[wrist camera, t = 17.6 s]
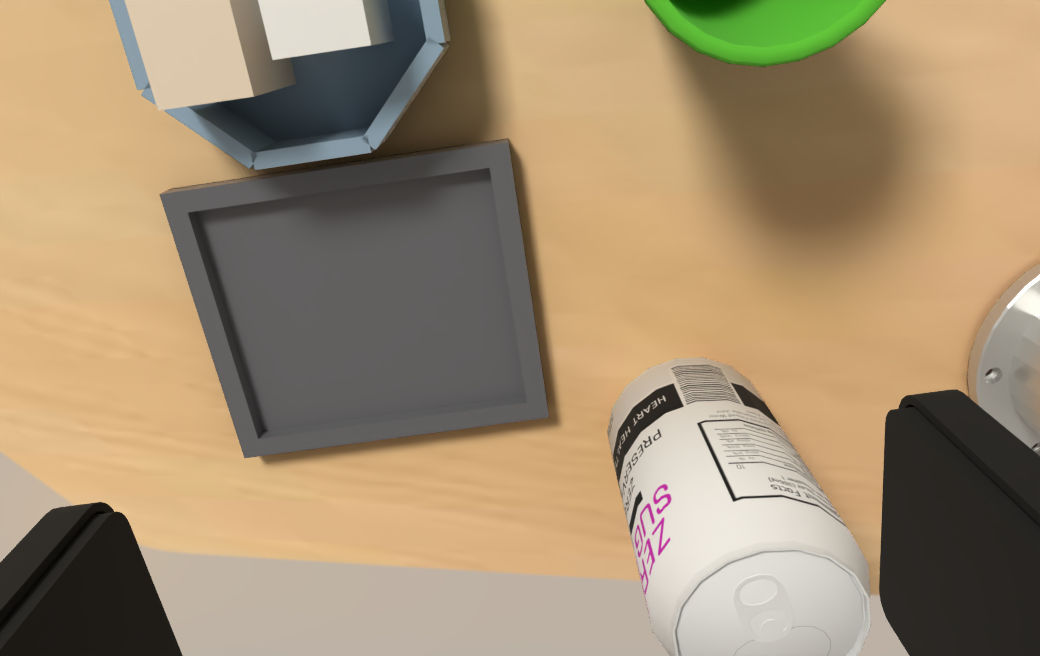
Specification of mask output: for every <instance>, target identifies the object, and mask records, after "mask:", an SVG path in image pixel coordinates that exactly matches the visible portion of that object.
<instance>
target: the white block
mask: <svg viewBox="0 0 1040 656" xmlns="http://www.w3.org/2000/svg"><path fill="white" fill-rule="evenodd" d="M258 3H259V7H260V11H261V15H262V19H263V23H264V27H265V31H266V35H267V39H268V44H269V48H270V52H271V56H272V60H276V59H283V58H290V57H296V56H303V55H310V54H317V53H323V52H330V51H337V50H343V49H350V48H357V47H363V46H370V45H376V44H381V43H386V42H391V41H395V40H394V34H393V29H392V24H391V18H390V13H389V8H388V2H387V0H258Z"/></svg>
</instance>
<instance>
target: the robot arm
mask: <svg viewBox="0 0 1040 656" xmlns="http://www.w3.org/2000/svg"><path fill="white" fill-rule="evenodd" d="M967 377H968V389H969V397H970V398H969V397H968V396H966V395H965V394H964V393H962V392H961V391H959V390H945V391H938V392H930V393H922V394H915V395H907V396H905V397H904V398H903V399H902V400H901V403H900V405H899V409H894V410H890V411H889V412H888V414H887V416H886V422H885V447H884V474H883V501H882V529H881V556H880V583H879V591H880V599H881V604H882V607H883V610H884V613H885V616H886V618H887V620H888V622H889V623H890V625H891V627H892V628H893V630H894V631H895V633H896V635H897V636H898V637H899V639H900V641H901V643H902V644H903V646H904V647H905V649H906V651H907V652H908V654H909V655H910V656H1040V263H1038V264H1037V265H1036V266H1034V267H1033V268H1031V269H1030V270H1028V271H1027V272H1025V273H1024V274H1023V275H1022V276H1021V277H1020V278H1019V279H1018V280H1017V281H1016V282H1015V283H1013V284H1012V285H1011V286H1010V287H1009V288H1008V289H1007V290H1006V291H1005V292H1004V293H1003V295H1002V296H1001V297H1000V298H999V300H998V301H997V302H996V304H995V305H994V306H993V307H992V309H991V310H990V311H989V313H988V315H987V317H986V318H985V320H984V322H983V324H982V326H981V327H980V329H979V331H978V333H977V336H976V339H975V342H974V345H973V348H972V351H971V353H970V360H969V367H968V375H967ZM0 656H182V653H181V651H180V648H179V646H178V643H177V641H176V638H175V636H174V633H173V631H172V628H171V626H170V623H169V621H168V619H167V616H166V613H165V611H164V608H163V606H162V603H161V601H160V598H159V596H158V594H157V591H156V589H155V586H154V584H153V581H152V579H151V576H150V574H149V571H148V569H147V566H146V564H145V561H144V559H143V556H142V554H141V551H140V549H139V546H138V544H137V541H136V539H135V536H134V534H133V531H132V529H131V526H130V524H129V522H128V520H127V518H126V517H125V516H124V515H123V514H122V513H120V512H114V510H113V509H112V508H111V507H110V506H109V505H108V504H106V503H102V502H98V503H90V504H83V505H75V506H67V507H60V508H56V509H52V510H51V511H50V512H48V513H47V514H46V515H45V516H44V517H43V518H42V519H41V520H40V521H39V522H38V523H37V524H36V525H35V526H34V527H33V528H32V530H31V531H30V532H29V533H28V534H27V535H26V536H25V537H24V538H23V539H22V540H21V541H20V542H19V543H18V544H17V546H16V547H15V548H14V549H13V550H12V551H11V552H10V553H9V554H8V555H7V556H6V557H5V558H4V559H3V561H1V562H0Z"/></svg>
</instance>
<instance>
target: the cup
mask: <svg viewBox="0 0 1040 656" xmlns="http://www.w3.org/2000/svg"><path fill="white" fill-rule="evenodd" d="M644 1H645V3H646V4H647V6H648V7H649V8H650V9H651V10H652V12H653V13H654V14H655V15H656V17H657V18H658V19H659V20H660V21H661V23H662V24H663V25H664V26H665V28H666V29H667V30H668V31H669V32H670V33H672V34H673V35H674V36H676V37H677V38H678V39H680V40H681V41H683V42H684V43H685V44H687V45H688V46H690V47H691V48H692V49H694V50H695V51H697V52H699V53H701V54H704V55H707V56H710V57H712V58H715V59H718V60H720V61H723V62H726V63H728V64H737V65H748V66H759V67H766V66H772V65H778V64H784V63H790V62H796V61H800V60H802V59H805V58H807V57H810V56H812V55H814V54H817V53H819V52H821V51H824V50H826V49H828V48H831V47H833V46H834V45H836V44H837V43H839V42H840V41H841V40H843V39H844V38H846V37H847V36H848V35H850V34H851V33H853V32H854V31H855V30H857V29H858V28H860V27H861V26H862V25H864V24H865V23H866V22H867V21H868V20H869V18H870V17H871V16H872V15H873V14H874V13H875V12H876V11H877V10H878V9H879V8H880V7H881V5H882V4H883V3H884V2H885V1H886V0H644Z"/></svg>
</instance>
